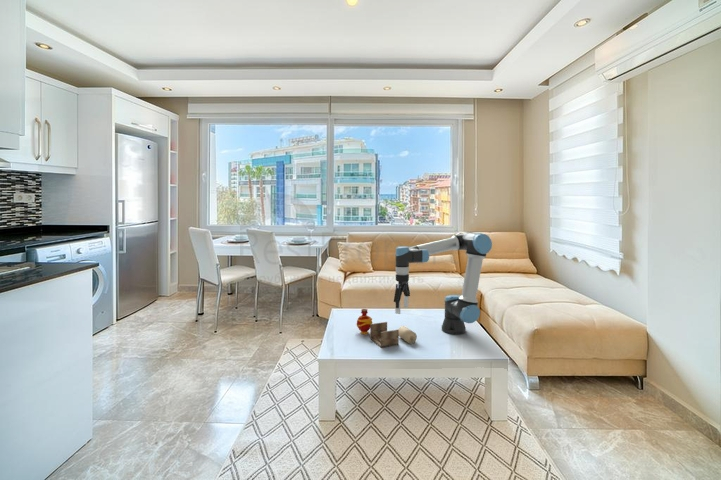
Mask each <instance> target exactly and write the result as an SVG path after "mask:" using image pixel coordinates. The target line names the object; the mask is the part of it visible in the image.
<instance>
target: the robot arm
mask: <svg viewBox="0 0 721 480" xmlns="http://www.w3.org/2000/svg"><path fill="white" fill-rule="evenodd" d="M492 248H493V241H492V239H491V238H490V236H489V235H488V234H486V233H482V232H474V231H473V232H472V231H467V232H464V233H459V234H455V235H452V236H451V237H448V238H444V239H441V240H436V241H431V242H427V243H423V244H418V245H417V244H416V245H413V246H401V245H400V246H396V248H395V254H394V256H395V267H394V269H395V281H397V282H398V283H397V284H395V290H394V299H393V303H394V304H395V308H394V309H395V310H394V311H395V313H394V314H398V315H400V314H401V298H402V295H403V308H409V301H410V300H409V299H410V298H409V297H411V291H410V286H409V280H410V274H409V273H410V264H415V263H416V264H418V263H419V264H420V263H422V264H423V263H427V262H429V260H430V256H432V255H436V254H440V253H444V252H445V253H446V252H448V251H453V250H454V251H461V250H463V251H466V252H465V254H466V256H467V260H466V266H465V271H464V273H465V274H464V279H463V283H462V290H461V295H460V294H449V295H446V296H445V297H444V317H443V318H444V319H443V322H442V325H441V331H442V332H443V333H445V334H449V335H450V334H451V335H463V334H465V333H466V331H467V329H466V324H473V323H475V322H476V321H478V320H479V318H480V316H481V310H480V308H479V306H478V305H479V301H478V299H477V295H478V289H479V283H480V278H481V272H482V266H483V265H482V264H483V261H484V259H485V258H487V254H488V253H489V252H490V251H491V250H492Z"/></svg>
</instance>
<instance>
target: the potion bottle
mask: <svg viewBox="0 0 721 480" xmlns="http://www.w3.org/2000/svg"><path fill="white" fill-rule="evenodd" d="M368 313H369V312H368V308H361V312H360V314H361V315H359V316H358V317H357V319H356V327H357V328H358V330H359V331H360V334H361V335H368V334H369V330H370V324H374V322H373V318H372V317H371V316H369V315H368Z"/></svg>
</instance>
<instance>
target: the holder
mask: <svg viewBox="0 0 721 480" xmlns="http://www.w3.org/2000/svg"><path fill="white" fill-rule="evenodd" d="M369 330H370V336H369V338H370V339H371V340H372V341H373V342H374V343H375V344H376V345H378V347H379V348H381V349H384V348H389V347H395V346H399V338H400V337H399V330H398V329H393V330H388V321H382V322H381V321H380V322H375V323H374V322H373V323H372V324H370V329H369Z"/></svg>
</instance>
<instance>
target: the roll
mask: <svg viewBox="0 0 721 480" xmlns="http://www.w3.org/2000/svg"><path fill="white" fill-rule="evenodd" d="M397 330H399V338H401V339H402V340H404V341H405V342H406V343H407V344H410V345H411V344H414V343H415V342H416V341H417V337H418V335H417V333H416V332H415V331H414V330H411V329H410V328H408V327H407V326H406V325H403V326H402V325H401V326H399V327H398V329H397Z"/></svg>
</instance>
